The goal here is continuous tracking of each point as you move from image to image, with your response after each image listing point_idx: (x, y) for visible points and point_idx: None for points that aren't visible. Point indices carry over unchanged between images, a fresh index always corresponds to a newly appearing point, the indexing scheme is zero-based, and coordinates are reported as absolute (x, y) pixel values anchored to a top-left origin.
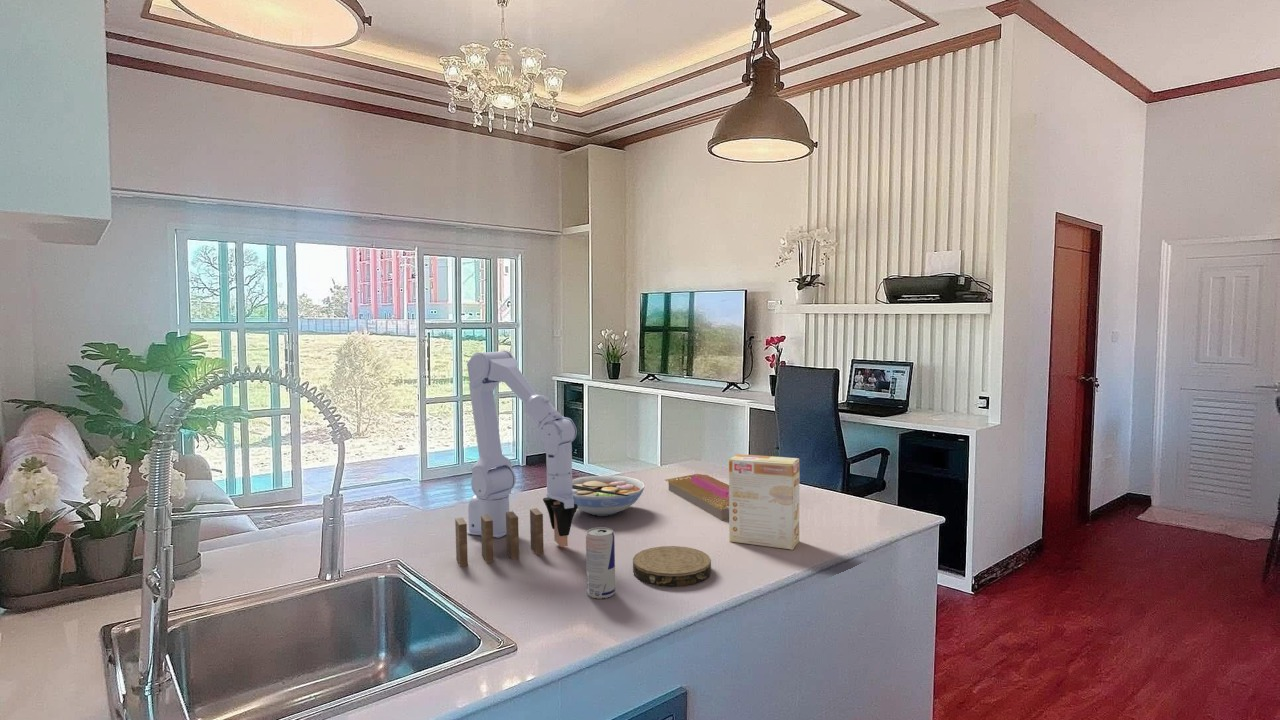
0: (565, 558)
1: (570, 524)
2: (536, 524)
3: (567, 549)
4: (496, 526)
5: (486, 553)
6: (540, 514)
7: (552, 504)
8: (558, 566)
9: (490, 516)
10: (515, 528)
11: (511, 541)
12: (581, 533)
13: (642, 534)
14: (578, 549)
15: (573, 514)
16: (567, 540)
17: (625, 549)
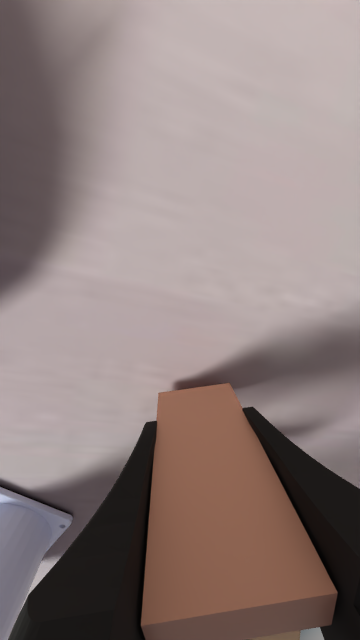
0: (286, 388)
1: (285, 439)
2: None
3: (217, 374)
4: (37, 557)
5: None
6: (298, 634)
7: None
8: (331, 410)
9: (14, 623)
10: None
11: None
12: (65, 306)
13: (136, 13)
14: (229, 344)
15: (356, 490)
16: (234, 394)
17: (298, 183)
